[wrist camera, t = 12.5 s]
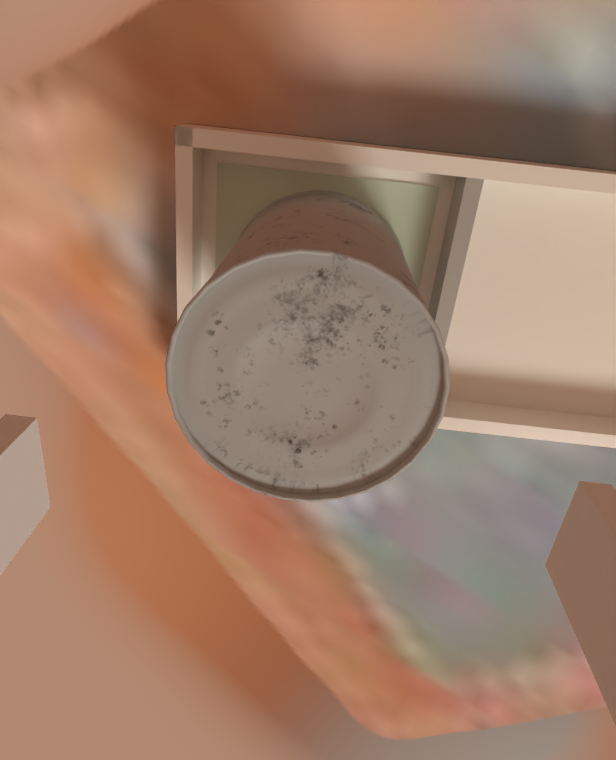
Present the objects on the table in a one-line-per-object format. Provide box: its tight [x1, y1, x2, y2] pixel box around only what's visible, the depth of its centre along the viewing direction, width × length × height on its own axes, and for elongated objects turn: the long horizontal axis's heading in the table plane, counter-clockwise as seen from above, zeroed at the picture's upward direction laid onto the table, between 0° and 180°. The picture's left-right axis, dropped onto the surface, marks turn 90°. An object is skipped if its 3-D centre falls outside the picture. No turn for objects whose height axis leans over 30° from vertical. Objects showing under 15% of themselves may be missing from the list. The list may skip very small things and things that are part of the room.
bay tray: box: [175, 124, 616, 448], centre depth 28 cm, size 27×14×2 cm, turn 84°
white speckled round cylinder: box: [166, 190, 450, 502], centre depth 24 cm, size 10×10×12 cm
